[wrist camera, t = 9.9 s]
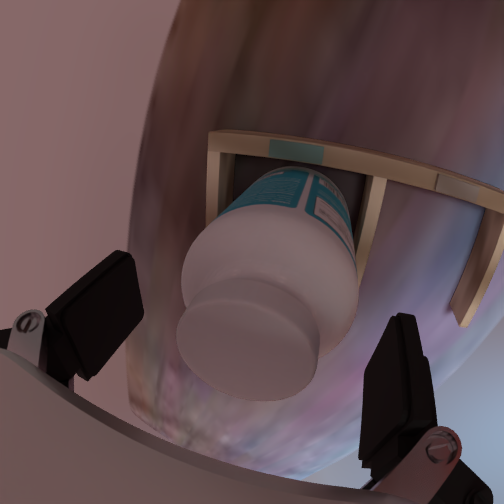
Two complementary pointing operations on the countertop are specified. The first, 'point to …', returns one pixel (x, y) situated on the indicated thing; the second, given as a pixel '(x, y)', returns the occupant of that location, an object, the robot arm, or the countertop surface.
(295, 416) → the countertop surface
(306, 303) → the pill bottle
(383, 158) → the rack
